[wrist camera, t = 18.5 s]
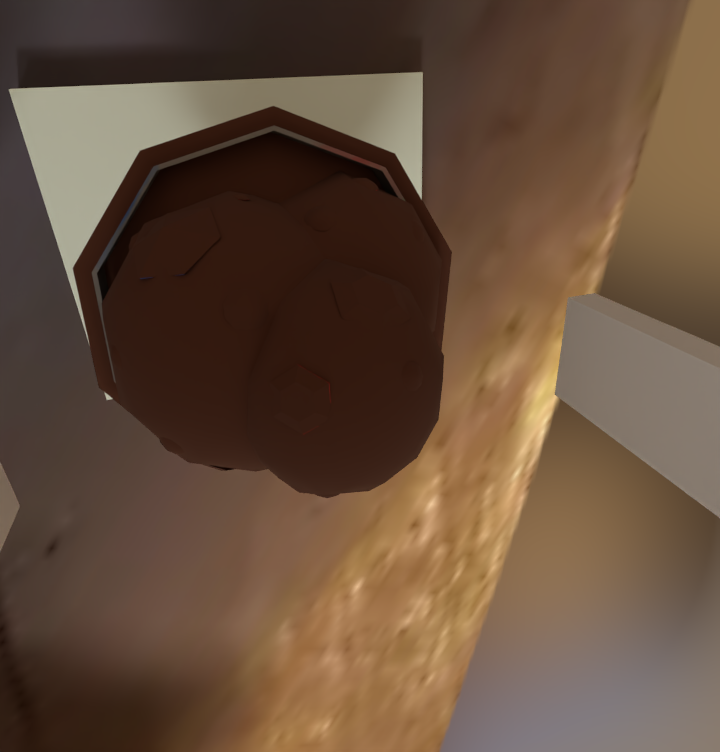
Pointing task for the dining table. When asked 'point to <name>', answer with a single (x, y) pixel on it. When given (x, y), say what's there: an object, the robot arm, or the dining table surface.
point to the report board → (189, 132)
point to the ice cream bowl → (271, 302)
